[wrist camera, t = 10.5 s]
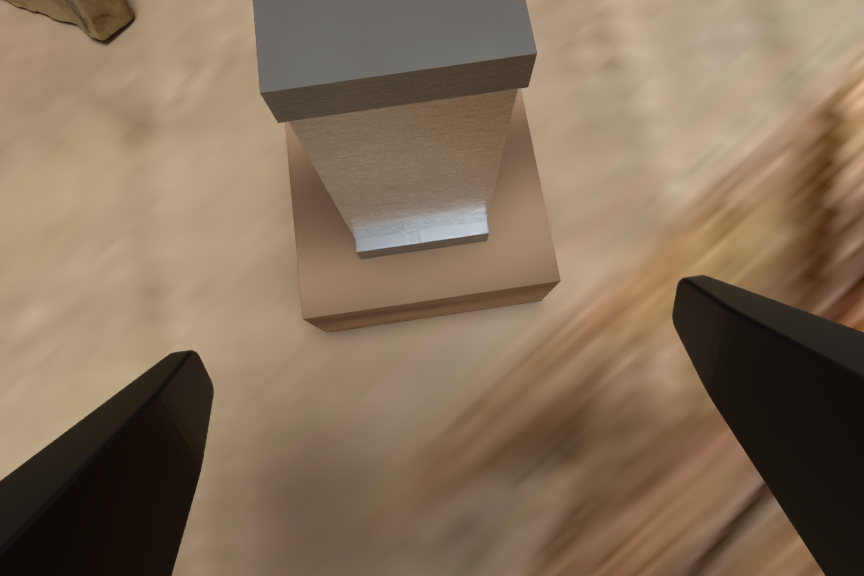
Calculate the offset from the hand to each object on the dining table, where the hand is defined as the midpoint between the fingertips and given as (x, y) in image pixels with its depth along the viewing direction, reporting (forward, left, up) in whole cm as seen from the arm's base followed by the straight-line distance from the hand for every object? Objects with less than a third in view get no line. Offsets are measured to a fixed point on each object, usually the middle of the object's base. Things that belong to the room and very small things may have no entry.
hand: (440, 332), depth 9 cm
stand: (+7, +3, -14) cm, 16 cm away
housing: (+7, +3, -10) cm, 12 cm away
